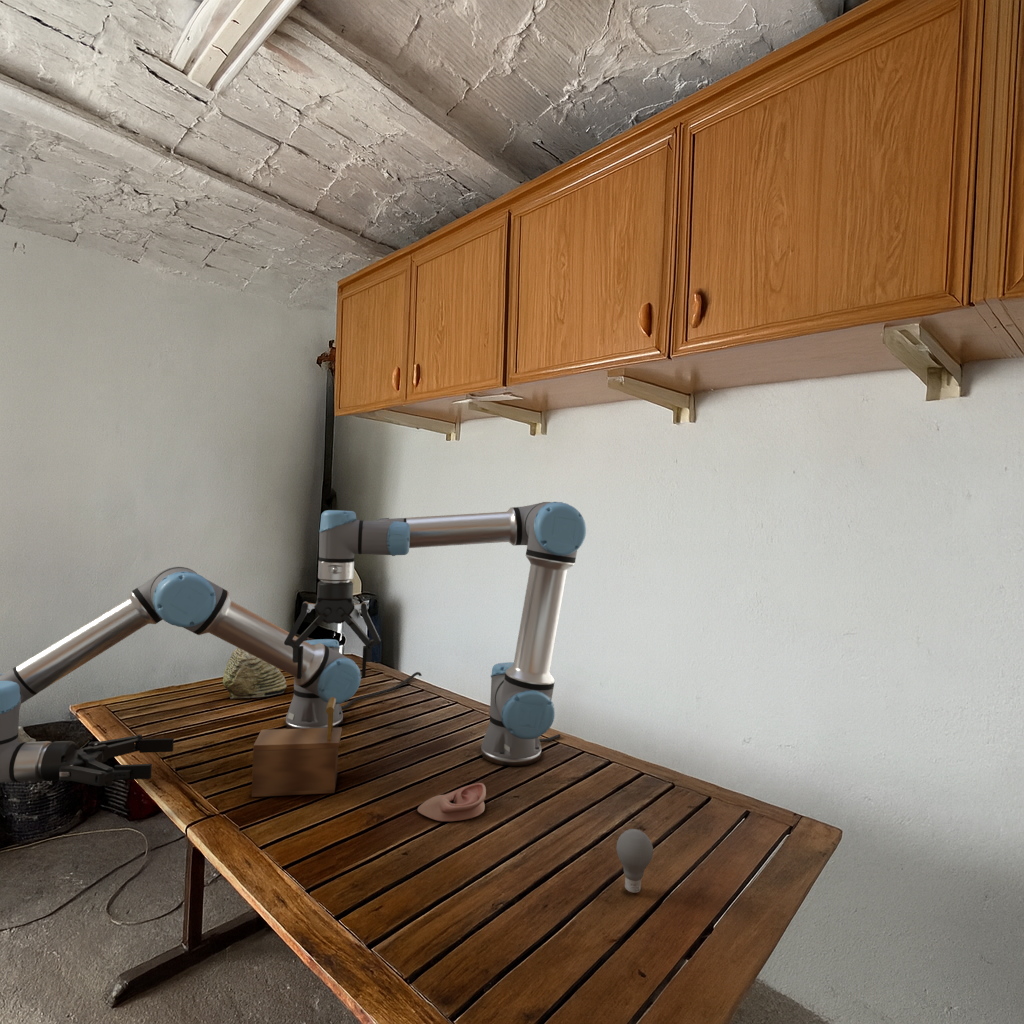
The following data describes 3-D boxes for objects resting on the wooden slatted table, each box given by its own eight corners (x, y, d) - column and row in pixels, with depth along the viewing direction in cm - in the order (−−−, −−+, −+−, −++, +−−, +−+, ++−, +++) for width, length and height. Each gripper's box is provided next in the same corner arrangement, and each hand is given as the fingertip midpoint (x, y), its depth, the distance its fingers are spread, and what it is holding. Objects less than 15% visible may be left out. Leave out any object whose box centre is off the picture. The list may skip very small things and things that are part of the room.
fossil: (218, 695, 195) (220, 647, 195) (278, 685, 208) (279, 640, 207) (228, 703, 189) (230, 653, 188) (289, 692, 201) (290, 645, 201)
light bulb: (610, 879, 108) (613, 822, 108) (644, 879, 109) (647, 822, 109) (619, 902, 102) (622, 840, 102) (655, 901, 103) (658, 840, 103)
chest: (337, 774, 145) (338, 732, 144) (334, 793, 136) (336, 748, 136) (259, 778, 141) (261, 734, 141) (251, 797, 132) (253, 751, 132)
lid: (341, 732, 144) (343, 695, 144) (339, 747, 136) (340, 708, 135) (261, 734, 141) (262, 696, 141) (253, 750, 132) (254, 710, 132)
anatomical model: (412, 797, 126) (431, 773, 138) (411, 817, 126) (430, 791, 138) (476, 807, 124) (490, 781, 135) (476, 827, 124) (489, 800, 135)
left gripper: (76, 754, 141) (180, 751, 145) (12, 809, 116) (139, 803, 121) (77, 721, 141) (181, 719, 145) (14, 768, 116) (141, 764, 120)
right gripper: (272, 581, 133) (269, 682, 133) (393, 583, 138) (389, 680, 138) (278, 577, 140) (275, 672, 140) (393, 579, 145) (389, 671, 145)
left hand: (162, 757), depth 133 cm, fingers open, 13 cm apart
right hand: (332, 677), depth 139 cm, fingers open, 13 cm apart
